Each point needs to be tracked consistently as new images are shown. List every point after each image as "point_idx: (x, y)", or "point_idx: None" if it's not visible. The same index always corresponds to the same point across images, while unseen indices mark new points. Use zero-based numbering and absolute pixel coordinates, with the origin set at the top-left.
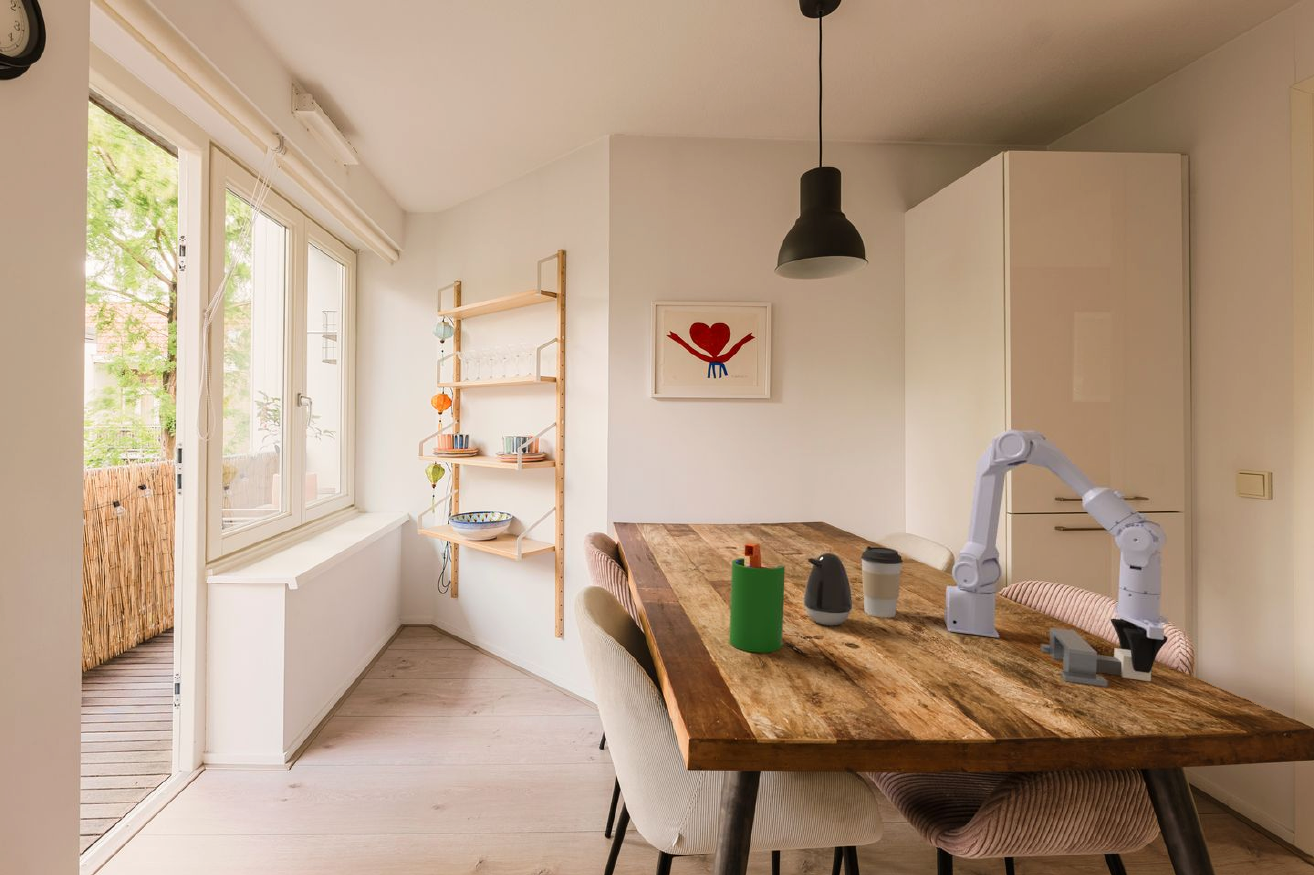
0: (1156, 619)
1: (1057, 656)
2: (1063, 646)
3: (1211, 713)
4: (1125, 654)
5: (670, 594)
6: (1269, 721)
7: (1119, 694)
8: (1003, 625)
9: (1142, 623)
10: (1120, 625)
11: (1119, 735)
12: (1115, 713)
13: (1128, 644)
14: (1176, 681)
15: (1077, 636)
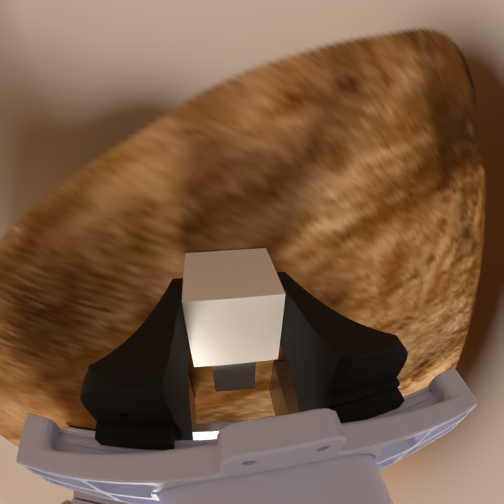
0: (370, 457)
1: (194, 400)
2: (193, 416)
3: (436, 184)
4: (259, 353)
5: None
6: (444, 74)
7: (371, 327)
8: (40, 410)
9: (412, 451)
10: (191, 439)
11: (466, 332)
12: (430, 335)
13: (184, 353)
14: (225, 162)
15: (205, 435)
